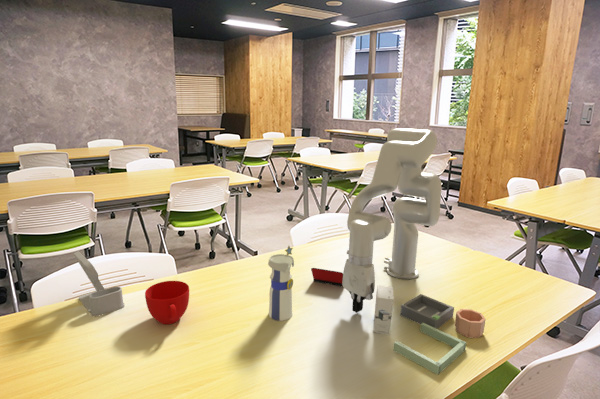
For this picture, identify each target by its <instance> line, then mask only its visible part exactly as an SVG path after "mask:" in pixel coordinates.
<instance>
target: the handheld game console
mask: <svg viewBox="0 0 600 399" xmlns="http://www.w3.org/2000/svg"><path fill="white" fill-rule="evenodd" d="M311 274H312V275H311V276H312V277H313V282H314V283H322V284H326V283H329V284H328V285H331V284H332V286H336V287H341V286H342V287H343V285H342V281H343V271H335V270H329V269H324V268H323V269H322V268H316V267H312V268H311ZM342 287H341V288H342ZM343 288H344V287H343Z"/></svg>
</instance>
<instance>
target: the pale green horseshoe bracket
mask: <svg viewBox="0 0 600 399" xmlns="http://www.w3.org/2000/svg"><path fill="white" fill-rule="evenodd" d="M420 332H421V333H423V334H425V335H427V336H428V337H431V338H433V339H435V340H437V341H439V342H442V343H444V344H446V345H448V346H450V347H452V349H450V350H449V351H448V352H447V353H446V354H444V355H443V356H442V357H441V358H439V359H438V361H436V360H433V359H432V358H430V357H428V356H426V355H424V354H423V353H420V352H419V351H417V350H415V349H413V348H411V347H409V346H407V345H405V344H404V343H402V342H400V341H398V340H395V341H394V342H393V348H392V349H393V351H394V352H396V353H397V354H399V355H401V356H403V357H405V358H406V359H408V360H410V361H412V362H414V363H415V364H416V365H417V364H418V365H419V366H421V367H422V368H425V369H427V370H428V371H431V372H432V373H434V374H436V375H437V376H438V375H440V374H441V373H442V372H443V371H444V370H445V369H446V368H448V367H449V365H451V364H452V363H453V362H454V361H455V360H457V358H458V357H459V356H461V355H462V354H463V353H464V352H465V351H466V348H467V342H466V341H465V340H462V339H460V338H458V337H456V336H453V335H452V334H449V333H447V332H445V331H442V330H441V329H439V328H437V329H436V328H434V327H432V326H429V325H427V324H425V323H422V324H420Z"/></svg>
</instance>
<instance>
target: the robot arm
mask: <svg viewBox="0 0 600 399" xmlns="http://www.w3.org/2000/svg"><path fill="white" fill-rule="evenodd" d="M386 136H387V137H386V139H387V141H386V142H384V143H383V144H382V146H381V148H380V151H379V154H378V157H377V161H376V166H375V169H374V172H373V177H372V180H371V182H370V183H369V184H367V185H366V186H365V187H364V188H362V189H361V190H360V191H359V192H358V193H357V194H356V196H355V197H354V199H353V200H352V203H351V206H350V209H349V212H348V217H347V221H346V222H347V224H346V226H347V230H349V239H348V240H349V243H348V250H347V251H346V255H348V258H347V259H346V260H345V264H344V267H343V271H342V273H343V281H342V285H343V288H344V289H345V290H346V291H347V292H349V295H350V298H351V300H352V309H351V310H352V311H353V312H355V313H356V314H358V313H359V312H361V311H362V310H363V309H364V300H368V301H371V300H373V299H374V295H373V294H374V293H375V288H376V287H375V286H376V283H375V282H376V277H375V275H376V272H375V266H374V263H373V259H374V258H373V257H374V242H375V241H380V240H384V239H385V238H387V237H388V236H389V235H390V233H391V231H392V222H391V220H390V219H389V218H388V217H386V216H383V215H378V214H374V213H369V212H363V210H364V208H365V206H366V204H367V203H369V201H371V200H372V199H373V198H376V197H378V196H382V195H386V194H389V193H392V192H394V191H396V190H397V189H398V193H400V194H401V195H404V196H403V197H399V198H396V199H395V201H394V202H393V207H392V213H393V235H392V236H393V237H392V251H391V258H390V257H389V256H385V257H384V260H383V263H385V264H387V265H388V266H387V268H386V272H387V274H388V275H389V276H391V277H393V278H396V279H402V280H411V279H416V278H418V277H419V273H420V272H419V270H418V269H417V268H416V263H417V252H418V251H417V250H418V243H419V242H418V240H419V230H418V228H417V225H421V226H428V227H432V226H435V225H437V224H438V222H439V218H440V215H441V198H442V181H441V178H440V176H439V175H438V174H436V173H431V172H423V171H422V166H423V165H424V164H425V163H426V161H428V158H430V156H431V155H432V154H434V151H435V150H436V147H437V142H438V138H437V137H438V136H437V134H436V133H435V131H433V130H431V129H421V128H420V129H419V128H418V129H417V128H404V127H403V128H401V127H400V128H399V127H398V128H392V129H390V130H389V131H388V132H387V135H386ZM405 196H408V197H405ZM413 197H414V198H413ZM420 198H421V199H420ZM416 224H417V225H416Z"/></svg>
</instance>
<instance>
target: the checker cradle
mask: <svg viewBox="0 0 600 399" xmlns="http://www.w3.org/2000/svg"><path fill="white" fill-rule="evenodd" d="M454 310H455V306H451V305H449V304H446V303H445V302H442V301H439V300H436V299H434V298H432V297H429V296H427V295H424V294H421V293H420V294H418V295H416V296H414V297H413V298H411V299H410V300H408V301H406V302H405V303H402V304H401V305H400V316H402V317H404V318H405V319H408V320H410V321H411V322H415V323H416V324H419V325H421V324H422V323H425V324H427V325H429V326H432V327H434V328H436V329H439V328H440V327H442V326H443V325H445V324H446V323H447V322H448V321H450V320H451V319H452V318H454Z"/></svg>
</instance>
